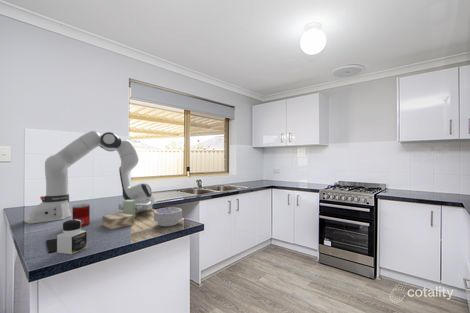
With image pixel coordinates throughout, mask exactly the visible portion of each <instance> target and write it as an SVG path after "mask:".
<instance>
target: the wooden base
mask: <svg viewBox="0 0 470 313" xmlns="http://www.w3.org/2000/svg"><path fill="white" fill-rule="evenodd" d="M133 225H135V218H134V215H131V214H129V213H126V212H118V213H112V214H105V215H102V226H104V227H106V228H108V229H110V230H114V229H119V228H120V229H121V228H124V227H128V226H133Z"/></svg>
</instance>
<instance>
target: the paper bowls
mask: <svg viewBox="0 0 470 313" xmlns="http://www.w3.org/2000/svg"><path fill="white" fill-rule="evenodd" d="M182 219H183V209H182V208H180V207H173V206H171V207H170V206H169V207H162V208H157V209H155V210H154V211H153V221H154V222H156V223H157V224H158V225H159V226H160V227H173V226H176V225H177V224H179V222H180V221H181V220H182Z"/></svg>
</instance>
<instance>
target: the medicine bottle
mask: <svg viewBox="0 0 470 313" xmlns="http://www.w3.org/2000/svg"><path fill="white" fill-rule="evenodd" d="M87 236H88V234H87V230H82V227H81V221H80V220H77V219H75V220H73V219H69V220H66V221H64V222H63V223H62V233H59V234H57V235H56V238H57V252H56V253H57V254H62V255H64V254H65V255H74V254H75V253H78V252H81V251H83V250H85V249H87V246H88V245H87V244H88V243H87V240H88V239H87V238H88V237H87Z"/></svg>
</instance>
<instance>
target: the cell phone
mask: <svg viewBox="0 0 470 313" xmlns="http://www.w3.org/2000/svg"><path fill="white" fill-rule="evenodd" d="M45 242H46V247H47V252H48V254H53V253H57V237H56V238H52V239H47V240H46V241H45Z"/></svg>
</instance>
